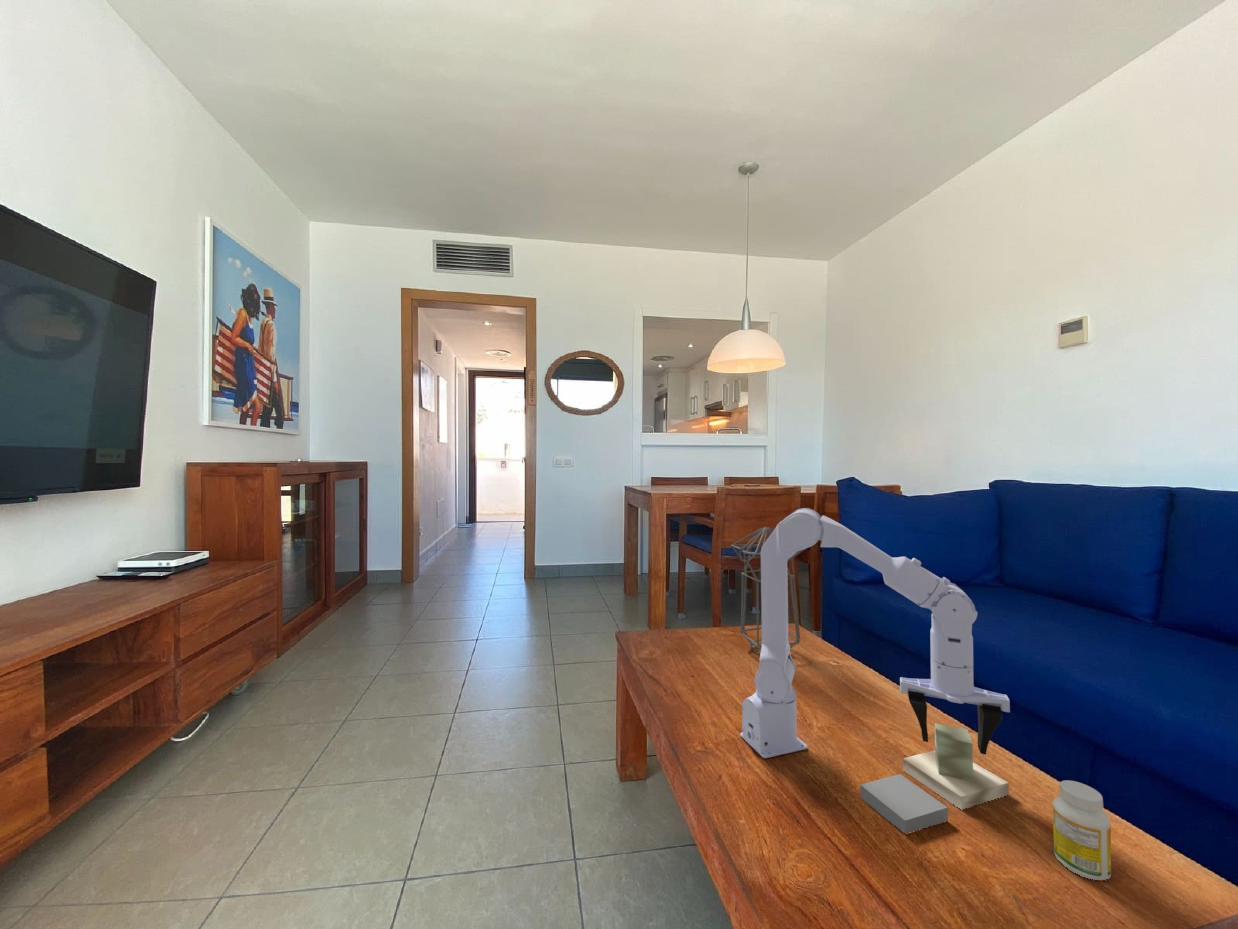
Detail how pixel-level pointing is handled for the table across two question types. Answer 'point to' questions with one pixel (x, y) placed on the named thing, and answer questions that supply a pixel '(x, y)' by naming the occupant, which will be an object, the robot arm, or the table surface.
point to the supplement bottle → (1082, 831)
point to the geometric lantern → (760, 532)
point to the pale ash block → (956, 782)
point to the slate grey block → (903, 803)
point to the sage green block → (953, 752)
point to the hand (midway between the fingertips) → (952, 744)
